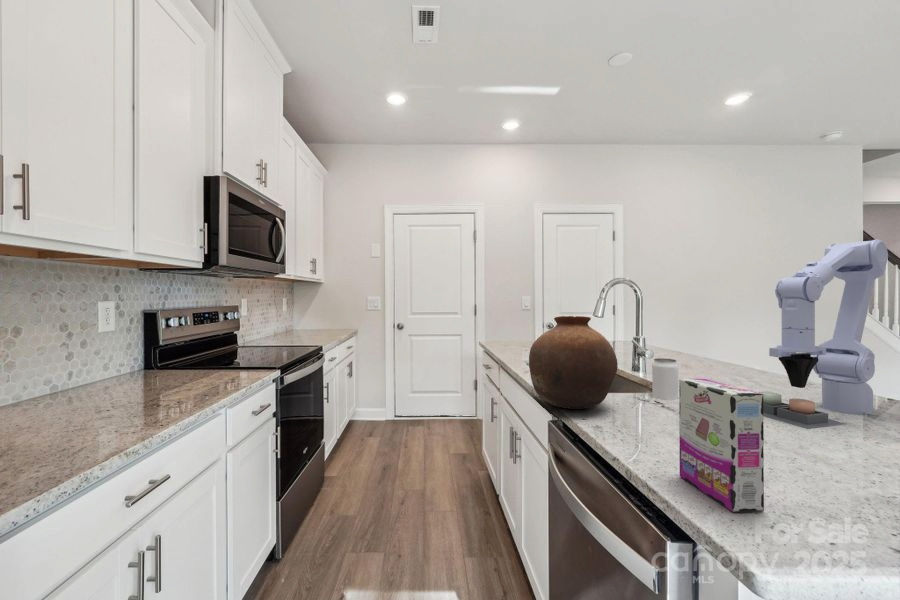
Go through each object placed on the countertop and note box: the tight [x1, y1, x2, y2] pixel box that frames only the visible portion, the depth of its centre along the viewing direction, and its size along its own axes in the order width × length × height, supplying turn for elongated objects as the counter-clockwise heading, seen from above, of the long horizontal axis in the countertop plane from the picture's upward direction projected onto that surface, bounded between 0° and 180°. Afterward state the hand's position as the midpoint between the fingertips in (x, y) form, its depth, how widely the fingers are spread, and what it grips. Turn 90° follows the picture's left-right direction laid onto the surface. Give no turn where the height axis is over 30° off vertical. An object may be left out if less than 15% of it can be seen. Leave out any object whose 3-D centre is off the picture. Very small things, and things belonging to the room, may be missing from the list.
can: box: [651, 357, 680, 405], centre depth 108 cm, size 6×6×12 cm
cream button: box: [733, 385, 753, 391], centre depth 101 cm, size 4×4×2 cm
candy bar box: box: [678, 378, 765, 513], centre depth 58 cm, size 11×5×16 cm, turn 5°
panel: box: [763, 402, 847, 430], centre depth 94 cm, size 12×24×4 cm, turn 14°
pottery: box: [528, 315, 619, 410], centre depth 104 cm, size 23×23×25 cm
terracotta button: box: [788, 398, 816, 414], centre depth 87 cm, size 4×4×2 cm
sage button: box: [757, 391, 783, 406], centre depth 94 cm, size 4×4×2 cm
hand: (798, 386), depth 88 cm, fingers closed
